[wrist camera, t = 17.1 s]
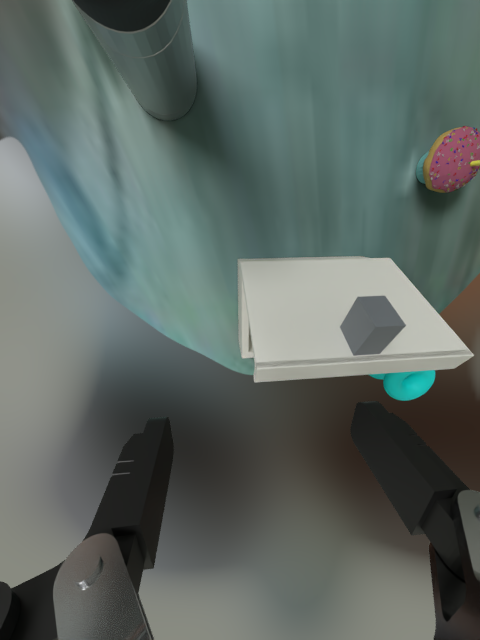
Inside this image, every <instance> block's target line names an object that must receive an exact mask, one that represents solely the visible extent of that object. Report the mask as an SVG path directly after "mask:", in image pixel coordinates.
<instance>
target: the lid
mask: <svg viewBox="0 0 480 640" xmlns="http://www.w3.org/2000/svg"><path fill="white" fill-rule="evenodd" d="M240 267H241V274H242V280H243V287H244V294H245V301H246V307H247V314H248V321H249V328H250V334H251V341H252V348H253V355H254V361H255V371H254V382H267V381H282V380H296V379H310V378H323V377H324V378H325V377H340V376H354V375H369V374H383V373H398V372H412V371H427V370H441V369H454V368H456V367H457V366H459V365H460V364H462V363H463V362H465V361H466V360H468V359H470V358H471V357H473V356H474V355H473V353H472V352H471V351H470V350H469V349H468V348H467V346H466V345H465V344H464V343H463V342H462V341H461V340H460V338H459V337H458V336H457V335H456V334H455V333H454V331H453V330H452V329H451V328H450V327H449V326H448V325H447V323H446V322H445V321H444V320H443V319H442V318H441V316H440V315H439V314H438V313H437V312H436V311H435V309H434V308H433V307H432V306H431V305H430V304H429V302H428V301H427V300H426V299H425V298H424V297H423V296H422V294H421V293H420V292H419V291H418V290H417V289H416V287H415V286H414V285H413V284H412V283H411V282H410V280H409V279H408V278H407V277H406V276H405V275H404V274H403V272H402V271H401V270H400V269H399V268H398V267H397V265H396V264H395V263H394V262H393V261H392V260H391V258H367V259H325V260H283V261H241V262H240Z"/></svg>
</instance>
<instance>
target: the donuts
mask: <svg viewBox="0 0 480 640" xmlns="http://www.w3.org/2000/svg"><path fill="white" fill-rule="evenodd" d="M369 375H370V376H371V377H373V378H376V379H384V380H383V385H384V389H385V391H386V392H387V393H388V394H389V396H391V397H393V398H394V399H397V400H403V401H406V400H412V399H415V398H417V397H420V396H421V395H423V394H424V393H426V392H427V391H428V390H429V389H430V387H431V386H432V384H433V382H434V379H435V370H427V371H412V372H398V373H383V374H369Z"/></svg>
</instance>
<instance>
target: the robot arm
mask: <svg viewBox="0 0 480 640" xmlns="http://www.w3.org/2000/svg"><path fill="white" fill-rule="evenodd" d="M72 1H73V3H74V4H75V6H76V7H77V9H78V11H79V12H80V14H81V15H82V17H83V18H84V20H85V21H86V23H87V24H88V26H89V27H90V29H91V30H92V32H93V33H94V35H95V36H96V38H97V39H98V41H99V42H100V44H101V46H102V47H103V49H104V50H105V52H106V53H107V55H108V56H109V58H110V59H111V61H112V62H113V64H114V65H115V67H116V69H117V70H118V72H119V73H120V75H121V76H122V78H123V79H124V81H125V82H126V84H127V86H128V87H129V89H130V90H131V92H132V93H133V95H134V96H135V98H136V99H137V101H138V102H139V104H140V105H141V106H142V107H143V108H144V109H145V110H146V111H147V112H148V113H149V114H151V115H152V116H153V117H156V118H158V119H160V120H166V121H170V120H176V119H178V118H181V117H182V116H183V115H185V114H186V113H187V112H188V110H189V109H190V108H191V106H192V104H193V102H194V100H195V96H196V91H197V75H196V67H195V59H194V51H193V44H192V37H191V29H190V22H189V14H188V7H187V0H72ZM351 436H352V439H353V442H354V444H355V445H356V447H357V448H358V450H359V452H360V453H361V455H362V456H363V458H364V460H365V461H366V463H367V464H368V466H369V468H370V469H371V471H372V473H373V474H374V475H375V477H376V479H377V481H378V482H379V484H380V485H381V487H382V489H383V490H384V491H385V493H386V495H387V497H388V498H389V500H390V501H391V503H392V504H393V506H394V508H395V509H396V511H397V512H398V514H399V516H400V517H401V519H402V521H403V522H404V524H405V526H406V527H407V528H408V530H409V532H410V534H411V535H417V534H426V536H427V537H428V539H429V540H430V543H429V557H430V567H431V577H432V587H433V597H434V606H435V617H436V629H435V635H434V640H480V492H477V491H473V490H470V489H469V488H468V487H467V486H466V485H465V484H464V483H463V482H462V481H461V480H460V479H459V478H458V477H457V476H456V475H455V474H454V473H453V471H452V470H451V469H450V468H449V467H448V466H447V465H446V464H445V463H444V462H443V461H442V460H441V459H440V458H439V457H438V456H437V455H436V454H435V452H434V451H433V450H432V449H431V448H430V447H429V446H427V445H426V443H425V442H424V441H423V440H422V439H421V438H420V437H419V436H417V433H416V432H415V431H414V430H413V429H412V428H411V427H410V426H409V425H408V424H407V423H406V422H405V421H403V420H402V419H400V418H399V417H398V416H396V415H394V414H393V413H389V412H388V411H387V410H386V409H385V408H384V407H383V406H382V405H381V404H380V403H379V402H377V401H370V402H359V403H357V405H356V408H355V413H354V417H353V420H352V424H351ZM173 455H174V443H173V437H172V431H171V425H170V420H169V417H161V418H149V419H148V421H147V424H146V427H145V430H144V433H140V434H134V435H133V436H132V437H131V438H130V440H129V441H128V442H127V443H126V444H125V446H124V447H123V449H122V452H121V454H120V456H119V459H118V463H117V464H116V466H115V469H114V471H113V475H112V477H111V478H110V481H109V483H108V486H107V488H106V491H105V493H104V496H103V498H102V501H101V503H100V505H99V508H98V510H97V513H96V515H95V518H94V520H93V523H92V525H91V527H90V530H89V532H88V533H87V535H86V537H85V539H84V540H83V541H82V542H81V543H80V544H79V545H78V546H77V547H76V548H75V549H74V550H73V551H72V552H71V553H70V554H69V555H68V557H67V558H66V559H65V560H64V561H63V562H62V563H60V564H59V565H57V566H56V567H54V568H52V569H50V570H48V571H46V572H44V573H42V574H40V575H39V576H36V577H34V578H32V579H30V580H28V581H26V582H24V583H22V584H20V585H18V586H16V587H14V588H12V589H11V588H10V587H9V586H8V584H6V583H4V582H0V640H154V637H153V635H152V631H151V629H150V626H149V623H148V620H147V617H146V614H145V611H144V608H143V605H142V603H141V600H140V597H139V594H138V592H139V586H140V582H141V577H142V572H143V570H144V569H152V568H154V563H155V558H156V552H157V546H158V541H159V535H160V529H161V523H162V519H163V512H164V507H165V502H166V496H167V491H168V485H169V479H170V474H171V468H172V463H173Z"/></svg>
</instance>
